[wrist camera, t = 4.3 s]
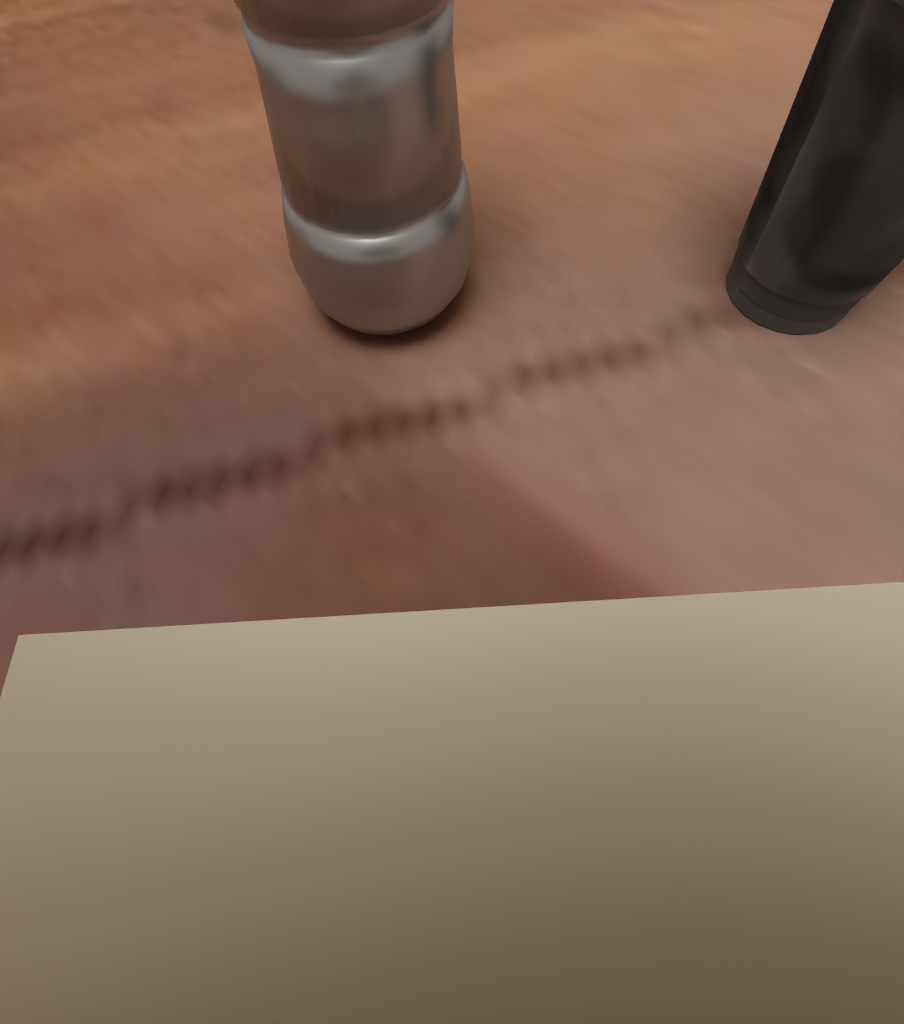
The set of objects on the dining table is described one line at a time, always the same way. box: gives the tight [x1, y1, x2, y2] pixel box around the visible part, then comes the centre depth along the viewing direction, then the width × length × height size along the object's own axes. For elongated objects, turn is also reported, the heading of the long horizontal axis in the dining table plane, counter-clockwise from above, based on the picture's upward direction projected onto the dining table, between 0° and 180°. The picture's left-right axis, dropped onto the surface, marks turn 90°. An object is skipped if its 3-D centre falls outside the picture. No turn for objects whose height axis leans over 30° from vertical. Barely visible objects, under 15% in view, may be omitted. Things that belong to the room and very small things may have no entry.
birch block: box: [0, 582, 904, 1024], centre depth 8 cm, size 5×5×13 cm
